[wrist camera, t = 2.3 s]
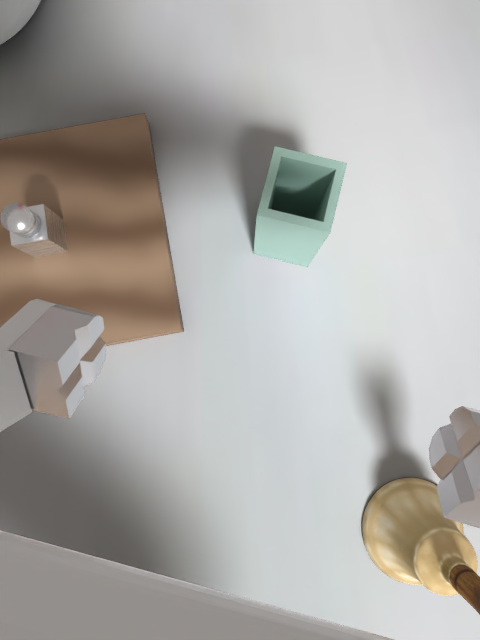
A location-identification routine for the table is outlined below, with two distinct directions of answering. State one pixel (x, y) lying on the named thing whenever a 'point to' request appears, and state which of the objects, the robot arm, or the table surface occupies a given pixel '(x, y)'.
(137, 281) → the board
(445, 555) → the hand bell
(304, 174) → the sleeve
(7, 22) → the serving bowl
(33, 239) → the post
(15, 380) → the robot arm
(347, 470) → the table surface
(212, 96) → the table surface
